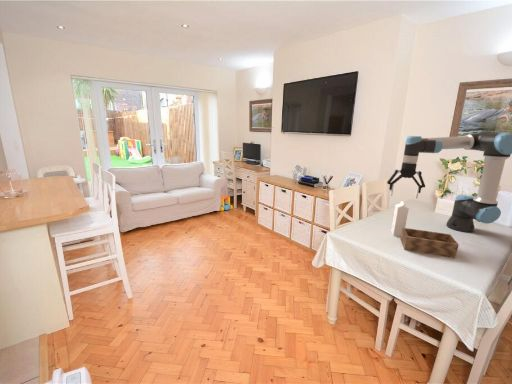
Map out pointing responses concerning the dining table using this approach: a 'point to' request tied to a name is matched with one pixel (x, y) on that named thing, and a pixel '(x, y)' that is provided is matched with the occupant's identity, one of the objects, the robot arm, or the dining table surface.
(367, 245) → the dining table surface
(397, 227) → the milk
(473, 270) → the dining table surface
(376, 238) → the dining table surface
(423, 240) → the crate
